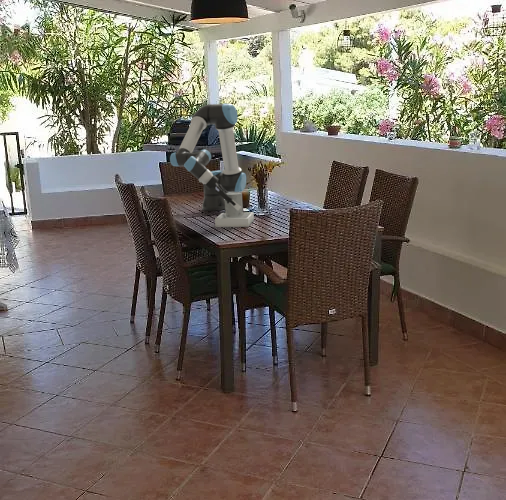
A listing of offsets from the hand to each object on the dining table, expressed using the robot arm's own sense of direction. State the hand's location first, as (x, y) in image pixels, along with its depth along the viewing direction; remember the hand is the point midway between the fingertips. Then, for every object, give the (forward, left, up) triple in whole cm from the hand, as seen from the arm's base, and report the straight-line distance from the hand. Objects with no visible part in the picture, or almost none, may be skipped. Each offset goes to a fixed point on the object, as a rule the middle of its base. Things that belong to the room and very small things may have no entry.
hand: (239, 207), depth 383 cm
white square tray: (0, -3, -9) cm, 9 cm away
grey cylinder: (+1, -3, -5) cm, 6 cm away
